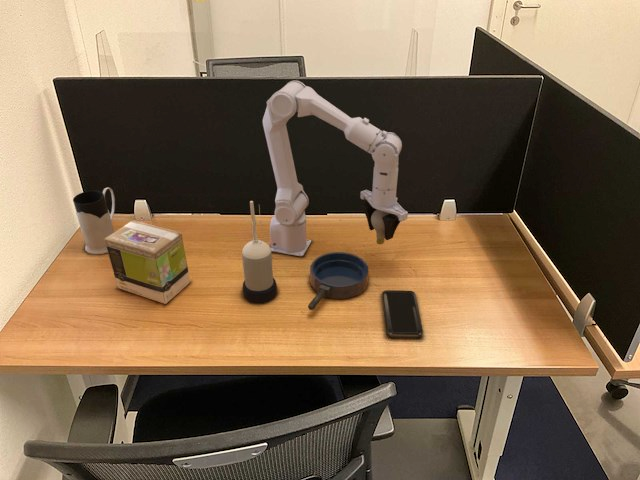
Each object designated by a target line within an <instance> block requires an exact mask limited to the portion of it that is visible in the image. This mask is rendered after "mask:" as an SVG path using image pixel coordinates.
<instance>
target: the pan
mask: <svg viewBox="0 0 640 480" xmlns="http://www.w3.org/2000/svg"><path fill="white" fill-rule="evenodd" d="M309 278H310V279H309V283H310V285H311V288H312V289H313V290H314V291H315V292H316V293H317V294H318V293H319V287H320V286H321V285H322V284H323V285H325V286H328V287H331V293H330V294H329V295H325V296H324V297H326V298H330V299H334V300H335V299H337V300H342V299H343V300H344V299H345V300H346V299H349V298H353V297H356V296H359V295H360V294H362V293H363V292H364V291H365V290H366V289H367V286H368V283H369V266H368V263H367V261H365V260H364V259H363V258H362V257H360V256H358V255H356V254H353V253H350V252H346V251H345V252H344V251H332V252H327V253H323V254H321V255H319V256H318V257H316V258H315V259H314V260H313V261H312V262H311V264H310V266H309Z"/></svg>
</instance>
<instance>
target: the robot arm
mask: <svg viewBox="0 0 640 480" xmlns="http://www.w3.org/2000/svg"><path fill="white" fill-rule="evenodd" d="M264 111H265V112H264V115H263V117H262V127H263V131H264V136H265V139H266V144H267V149H268V153H269V157H270V161H271V166H272V170H273V174H274V179H275V183H276V188H277V190H276V194H275V199H274V202H275V208H274V216H272V218H271V220H270V223H269V242H270V243H269V244H270V248H271V253H272V252H274V253H277V254H283V255H290V256H296V257H301V258H302V257H304V256H305V254H306V252H307V250H308V249H309V247H310V245H311V244H312V240H311V239H308V238H307V216H306V209H307V208H308V206H309V204H310V201H309V197H308V195H307V193H306V192H305V190H304V186H303V185H302V184H301V183H299V182H298V177H297V172H296V166H295V162H294V157H293V153H292V152H293V151H292V147H291V143H290V137H289V133H288V128H287V123H288V121H289V120H290V119H292V117H293V116H295V114H296V113H297V118H303V117H308V116H315V117H317V118H318V119H320V120H322V121H324V122H326V123H328V124H329V125H331V126H333V127H335V128H337V129H338V130H340V131H342V132H343V133H344V137H345V139H346V140H347V141H349V142H350V143H352V144H353V145H355V146H357V147H358V148H360V149H361V150H363V151H365V152H366V153H368V154H370V155H371V158H372V160H373V161H374V166H373V174H372V191H370V190H368V189H365V190H362V191H360V199H361V200H363V201H365V202H364V203H362V204H361V209H362V210H363V212H364V214H365V217H366V220H367V225H368V229H369V231H373V230H375V229H374V227H373V225H372V223H371V216H372V214H373V212H374V211H375V210H377V209H378V210H381V211H384V212H388V213H389V215H386V216H384V217H382V219H383V222H384V226H385V241H389V240H391V239H393V238H394V235H395V233H396V231H397V228H398V227H399V225H400V223H402V222H404V221H406V220H408V216H409V215H408V214H409V212H408V211H407V210H405V208H403V207H402V206H401V205H400V204H399V202H397V201H398V197H397V188H398V187H397V186H398V178H399V164H400V163H399V155H400V154H401V151H402V147H403V141H402V140H401V138H400V136H398V135H397V134H396V133H395V132H391V131H389V132H388V131H385V130H384V129H383V130H381V129H380V128H378V127H376V126H374V124H372V123H370V119H369V118H367V117H363V118H362V117H360V116H357V117H350V116H349V115H348V114H347V113H345V112H344V111H342V110H341V109H339V108H338V107H336V106H335V105H334V104H332V103H331V102H329V101H328V100H326V99H325V98H323V97H322V96H321V95H319V94H318V93H317V92H316V91H315V90H314V88H312V87H311V86H308V85H305V84H304V82H302V81H300V80H291V81H289V82H287V83H286V84H285V85H284V86H283V87H282V88H280V89H279V90H277V91H276V92H274V93H273V94H272V95H271V97H269V98H268V99H267V101H266V108H265V110H264Z"/></svg>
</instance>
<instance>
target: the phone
mask: <svg viewBox="0 0 640 480" xmlns="http://www.w3.org/2000/svg"><path fill="white" fill-rule="evenodd" d="M381 299H382V307H383V308H382V309H383V316H384V325H385V333H386V336H387V337H388V338H390V339H414V340H415V339H421V338H422V337H423V335H424V330H423V329H424V328H423V325H422V324H423V323H422V319H421V316H420V310H419V304H418V300H417V294H416V292H415V291H413V290H400V289H399V290H397V289H396V290H395V289H394V290H391V289H390V290H389V289H387V290H383V291H382V293H381Z"/></svg>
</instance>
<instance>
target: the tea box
mask: <svg viewBox="0 0 640 480" xmlns="http://www.w3.org/2000/svg"><path fill="white" fill-rule="evenodd" d="M105 243H106V247H107V250H108V252H107V254H108V257H109V261H110V264H111V269H112V272H113V275H114V279H115V283H116V285H117V289H120V290H123V291H125V292H128V293H132V294H134V295H137V296H141V297H143V298H147V299H150V300H153V301H155V302H158V303H160V304H164V305H167V304H168V302H170V301H172V299H173V298H175V297H176V296H177V295H178V294H179V293H180V292H181V291H182V290H183V289H185V287H187V286H188V285H189V284H190V283H191V279H190V272H189V267H188V262H187V261H188V260H187V256H186V250H185V244H184V239H183V234H182V232H180V231H177V230H173V229H169V228H165V227H161V226H157V225H155V224H154V225H153V224H150V223H146V222H143V221H138V220H135V219H133V220H131V221H129V222H128V223H126V224H125V225H123V226H122V227H120V228H119V229H117V230H115V231H114V233H113V234H111V235H109V236H108V237H106V238H105Z"/></svg>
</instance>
